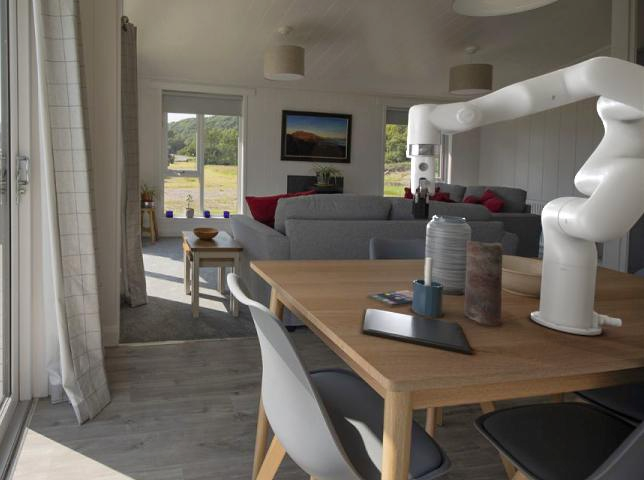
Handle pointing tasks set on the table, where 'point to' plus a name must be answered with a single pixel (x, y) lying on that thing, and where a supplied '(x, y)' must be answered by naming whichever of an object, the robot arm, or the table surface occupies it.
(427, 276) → the stylus
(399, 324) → the tablet
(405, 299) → the smartphone
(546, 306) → the robot arm
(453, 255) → the vase
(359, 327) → the table surface
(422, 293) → the pen cup
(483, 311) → the candle
